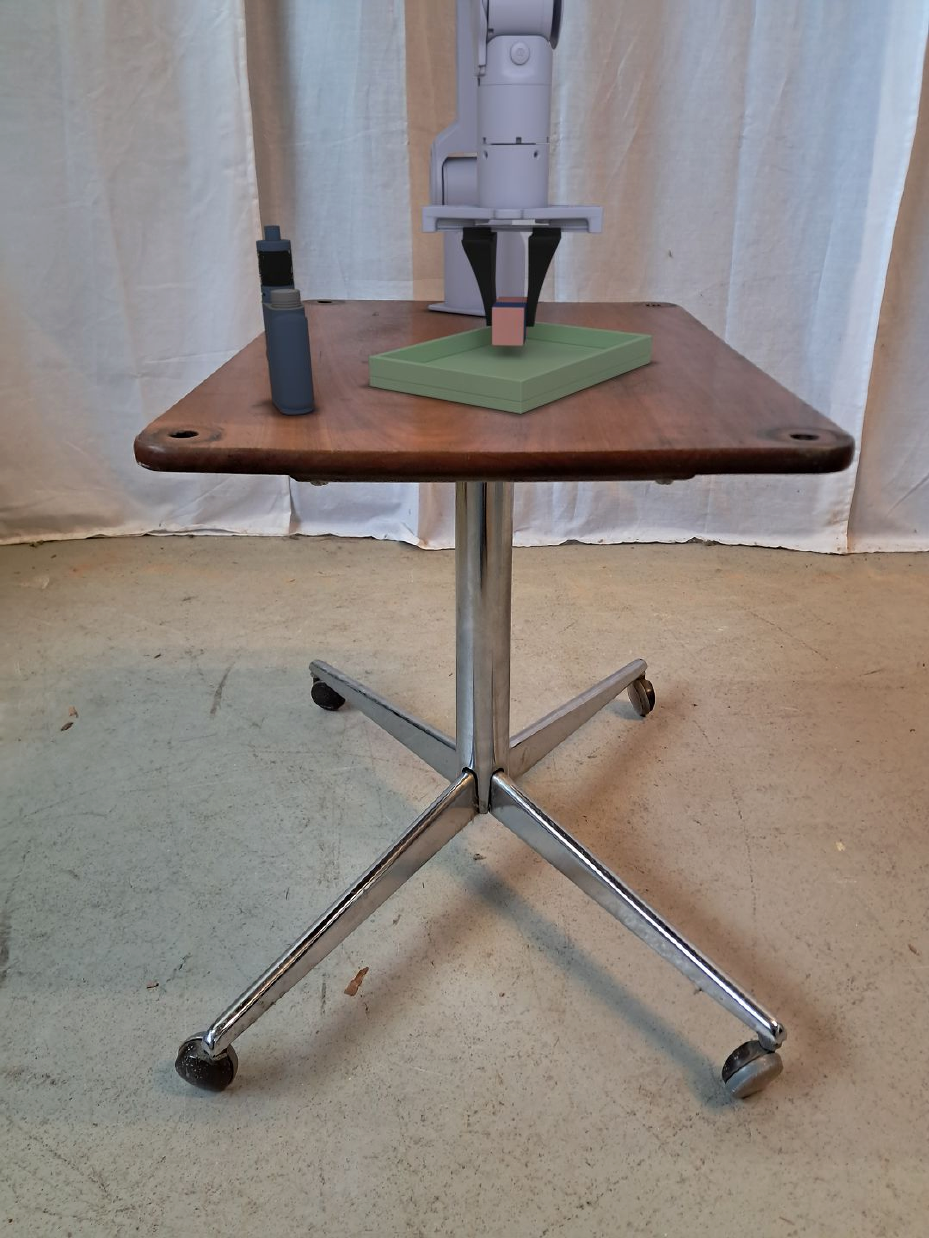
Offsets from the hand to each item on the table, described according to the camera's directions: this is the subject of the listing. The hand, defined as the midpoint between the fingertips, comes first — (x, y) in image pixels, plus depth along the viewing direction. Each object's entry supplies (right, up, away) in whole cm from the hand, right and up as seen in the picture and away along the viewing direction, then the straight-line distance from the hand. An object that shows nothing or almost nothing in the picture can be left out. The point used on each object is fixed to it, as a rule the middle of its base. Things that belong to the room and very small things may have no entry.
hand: (510, 324), depth 78 cm
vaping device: (-16, -10, -11) cm, 22 cm away
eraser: (0, -1, +1) cm, 1 cm away
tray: (0, -5, -3) cm, 6 cm away
